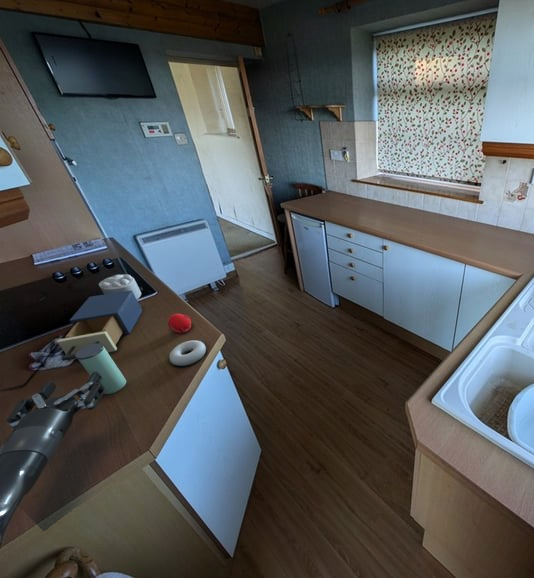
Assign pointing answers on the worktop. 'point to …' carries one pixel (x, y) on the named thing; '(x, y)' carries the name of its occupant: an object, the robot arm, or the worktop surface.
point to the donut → (182, 360)
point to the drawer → (92, 335)
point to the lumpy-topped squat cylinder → (120, 285)
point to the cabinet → (111, 309)
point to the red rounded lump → (179, 323)
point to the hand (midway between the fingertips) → (75, 378)
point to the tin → (101, 366)
